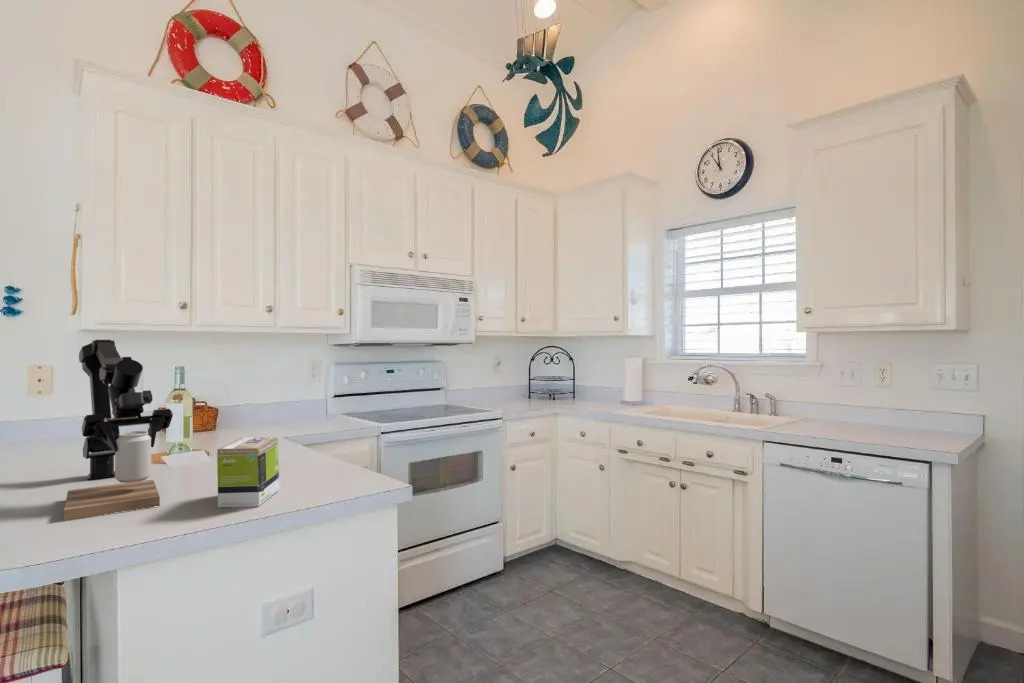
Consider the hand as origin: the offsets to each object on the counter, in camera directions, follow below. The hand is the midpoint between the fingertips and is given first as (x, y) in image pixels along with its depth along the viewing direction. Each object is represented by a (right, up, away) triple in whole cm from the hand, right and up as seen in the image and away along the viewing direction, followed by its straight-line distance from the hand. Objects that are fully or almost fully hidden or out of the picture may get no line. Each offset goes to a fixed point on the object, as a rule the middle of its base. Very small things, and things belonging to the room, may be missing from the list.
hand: (134, 448), depth 137 cm
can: (-1, -8, +1) cm, 9 cm away
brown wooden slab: (-4, -14, -2) cm, 15 cm away
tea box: (+28, -14, +2) cm, 31 cm away
